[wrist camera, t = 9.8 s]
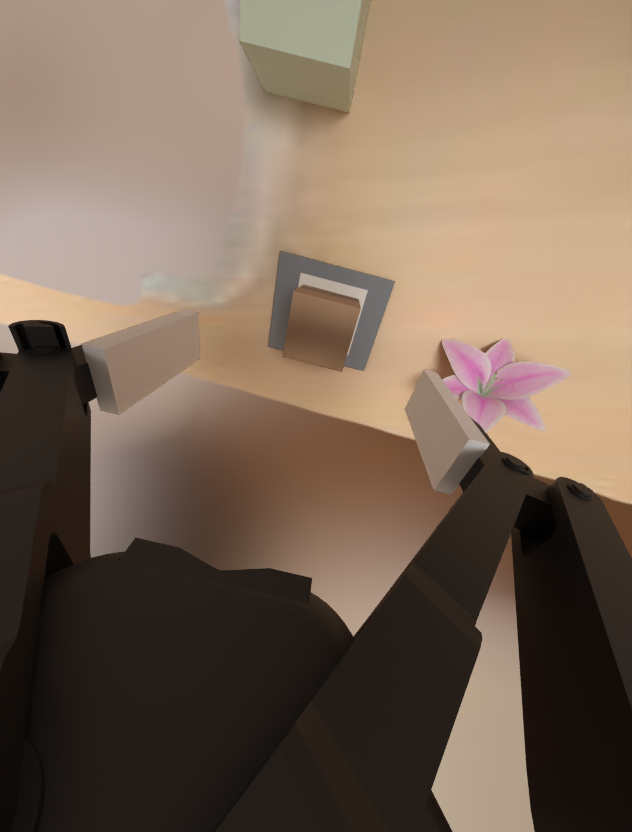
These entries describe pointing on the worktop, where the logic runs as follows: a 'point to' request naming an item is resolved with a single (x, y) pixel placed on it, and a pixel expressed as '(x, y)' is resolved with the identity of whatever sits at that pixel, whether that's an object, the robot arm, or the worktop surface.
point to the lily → (498, 383)
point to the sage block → (305, 47)
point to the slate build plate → (336, 280)
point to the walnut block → (320, 327)
